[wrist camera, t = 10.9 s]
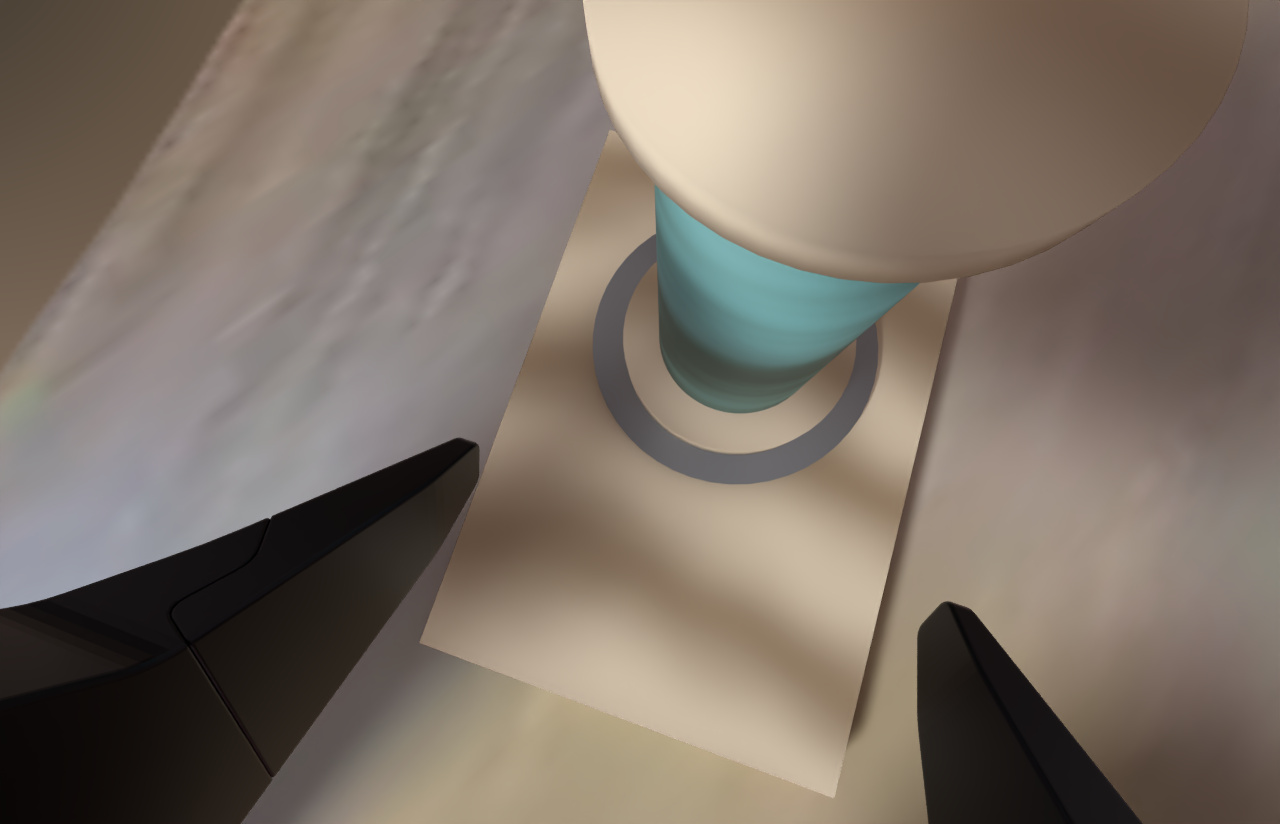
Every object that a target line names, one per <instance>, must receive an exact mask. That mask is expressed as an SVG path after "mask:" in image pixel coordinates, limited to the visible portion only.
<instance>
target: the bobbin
mask: <svg viewBox="0 0 1280 824" xmlns="http://www.w3.org/2000/svg"><path fill="white" fill-rule="evenodd" d="M583 4H584V12H585V19H586V26H587V32H588V39H589V45H590V51H591V57H592V63H593V69H594V74H595V77H596V81H597V84H598V87H599V91H600V94H601V98H602V101H603V104H604V106H605V108H606V110H607V113H608V115H609V117H610V119H611V121H612V123H613V125H614V128H615V130H616V132H617V134H618V136H619V137H620V139H621V140H622V142H623V143H624V145H625V146H626V148H627V149H628V151H629V152H630V154H631V155H632V157H633V158H634V160H635V161H636V163H637V164H638V165H639V166H640V168H641V169H642V170H643V171H644V172H645V173H646V174H647V176H648V177H649V178H650V179H651V180H652V181H653V182H654V184H655V217H656V249H657V262H656V263H654V264H653V265H652V266H651V267H650V269H649V270H648V271H647V272H646V274H645V275H644V276H643V277H642V279H641V281H640V282H639V284H638V286H637V287H636V289H635V291H634V293H633V295H632V298H631V300H630V302H629V305H628V309H627V312H626V316H625V322H624V329H623V347H624V355H625V361H626V364H627V368H628V372H629V375H630V379H631V383H632V385H633V387H634V390H635V392H636V394H637V396H638V398H639V399H640V401H641V403H642V405H643V406H644V408H645V409H646V410H647V411H648V413H649V414H650V415H651V416H652V418H653V419H654V420H655V421H656V422H657V423H658V424H659V425H660V426H661V427H662V428H664V429H665V430H666V431H668V432H669V433H670V434H672V435H673V436H674V437H676V438H678V439H680V440H682V441H683V442H685V443H687V444H689V445H692V446H694V447H697V448H699V449H702V450H706V451H710V452H714V453H720V454H728V455H745V454H753V453H760V452H763V451H767V450H771V449H774V448H776V447H779V446H781V445H784V444H786V443H788V442H790V441H792V440H794V439H796V438H797V437H799V436H801V435H802V434H804V433H806V432H808V431H809V430H811V429H812V428H813V427H814V426H816V425H817V424H818V423H819V422H821V421H822V420H823V419H824V418H825V417H826V416H827V414H828V413H829V412H830V411H831V410H832V409H833V408H834V406H835V405H836V403H837V402H838V401H839V399H840V398H841V396H842V394H843V392H844V390H845V388H846V387H847V385H848V382H849V379H850V376H851V373H852V371H853V366H854V361H855V356H856V339H857V338H858V337H859V336H860V335H862V334H863V333H864V332H865V331H866V330H867V329H868V328H869V327H871V326H872V325H873V324H874V323H875V322H876V321H877V320H879V319H880V318H881V317H882V316H883V315H884V314H885V313H887V312H888V311H889V310H890V309H891V308H892V307H893V306H895V305H896V304H897V303H898V302H899V301H900V300H901V299H903V298H904V297H905V296H906V295H907V294H908V293H909V292H911V291H912V290H913V289H914V288H915V287H916V286H917V285H919V284H920V283H927V282H934V281H941V280H948V279H956V278H963V277H970V276H973V275H977V274H981V273H984V272H988V271H992V270H995V269H999V268H1003V267H1006V266H1010V265H1013V264H1015V263H1017V262H1020V261H1022V260H1025V259H1027V258H1029V257H1032V256H1034V255H1037V254H1039V253H1041V252H1044V251H1046V250H1049V249H1050V248H1052V247H1054V246H1056V245H1057V244H1059V243H1061V242H1062V241H1064V240H1066V239H1067V238H1069V237H1071V236H1073V235H1074V234H1076V233H1078V232H1079V231H1081V230H1083V229H1084V228H1086V227H1087V226H1089V225H1090V224H1092V223H1093V222H1095V221H1096V220H1098V219H1100V218H1101V217H1103V216H1104V215H1106V214H1107V213H1109V212H1110V211H1112V210H1113V209H1115V208H1116V207H1118V206H1119V205H1121V204H1122V203H1124V202H1125V201H1127V200H1128V199H1130V198H1131V197H1133V196H1134V195H1136V194H1137V193H1138V192H1140V191H1141V190H1142V189H1143V188H1145V187H1146V186H1147V185H1148V184H1150V183H1151V182H1152V181H1153V180H1155V179H1156V178H1157V177H1158V176H1160V175H1161V174H1162V173H1163V172H1165V171H1166V170H1167V169H1168V168H1170V167H1171V166H1172V165H1173V164H1174V163H1175V162H1176V161H1177V159H1178V158H1179V157H1180V156H1181V155H1182V154H1183V153H1184V152H1185V151H1186V150H1187V149H1188V148H1189V146H1190V145H1191V144H1192V143H1193V142H1194V141H1195V140H1196V139H1197V138H1198V137H1199V136H1200V134H1201V133H1202V131H1203V130H1204V128H1205V127H1206V125H1207V124H1208V122H1209V120H1210V119H1211V117H1212V116H1213V114H1214V113H1215V111H1216V110H1217V108H1218V107H1219V105H1220V104H1221V102H1222V100H1223V98H1224V96H1225V93H1226V91H1227V89H1228V87H1229V84H1230V82H1231V80H1232V78H1233V76H1234V73H1235V71H1236V69H1237V66H1238V62H1239V58H1240V54H1241V50H1242V46H1243V43H1244V39H1245V35H1246V31H1247V18H1248V5H1249V0H583Z"/></svg>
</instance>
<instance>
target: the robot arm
mask: <svg viewBox="0 0 1280 824" xmlns="http://www.w3.org/2000/svg"><path fill="white" fill-rule="evenodd" d="M478 478H479V446H478V444H477V443H475V442H472V441H469V440H466V439H463V438H455V439H453V440H450V441H448V442H446V443H443V444H441V445H438V446H436V447H434V448H431V449H429V450H427V451H424V452H422V453H420V454H417V455H415V456H412V457H410V458H408V459H405V460H403V461H401V462H398V463H396V464H394V465H391V466H389V467H387V468H384V469H382V470H379V471H377V472H375V473H372V474H370V475H368V476H365V477H363V478H361V479H358V480H356V481H353V482H351V483H349V484H346V485H344V486H342V487H339V488H337V489H335V490H332V491H330V492H328V493H325V494H323V495H320V496H318V497H316V498H313V499H311V500H309V501H306V502H304V503H302V504H299V505H297V506H294V507H292V508H290V509H287V510H285V511H283V512H280V513H278V514H276V515H273V516H272V517H271V519H269V518H266V519H263V520H261V521H259V522H256V523H254V524H252V525H249V526H247V527H245V528H242V529H240V530H237V531H235V532H232V533H230V534H227V535H225V536H222V537H220V538H217V539H215V540H212V541H210V542H207V543H205V544H202V545H199V546H196V547H194V548H191V549H188V550H186V551H183V552H180V553H177V554H175V555H172V556H169V557H166V558H164V559H161V560H158V561H155V562H152V563H149V564H146V565H144V566H141V567H138V568H135V569H132V570H129V571H126V572H123V573H121V574H118V575H115V576H112V577H109V578H106V579H103V580H100V581H98V582H95V583H92V584H89V585H86V586H83V587H80V588H78V589H75V590H72V591H69V592H66V593H63V594H60V595H57V596H54V597H50V598H47V599H44V600H40V601H36V602H32V603H28V604H24V605H19V606H14V607H9V608H3V609H0V824H241V822H242V821H243V820H244V818H245V817H246V816H247V814H248V813H249V811H250V810H251V809H252V807H253V806H254V805H255V803H256V802H257V800H258V799H259V798H260V796H261V795H262V794H263V792H264V791H265V789H266V788H267V787H268V785H269V784H270V782H271V781H272V777H274V776H275V775H276V774H277V772H278V771H279V770H280V768H281V767H282V765H283V764H284V763H285V761H286V760H287V759H288V757H289V756H290V754H291V753H292V752H293V750H294V749H295V748H296V746H297V745H298V743H299V742H300V741H301V739H302V738H303V737H304V735H305V734H306V732H307V731H308V730H309V728H310V727H311V726H312V724H313V723H314V721H315V720H316V719H317V717H318V716H319V714H320V713H321V712H322V710H323V709H324V708H325V706H326V705H327V703H328V702H329V701H330V699H331V698H332V697H333V695H334V694H335V692H336V691H337V690H338V688H339V687H340V686H341V684H342V683H343V681H344V680H345V679H346V677H347V676H348V675H349V673H350V672H351V670H352V669H353V668H354V666H355V665H356V663H357V662H358V661H359V659H360V658H361V657H362V655H363V654H364V652H365V651H366V650H367V648H368V647H369V646H370V644H371V643H372V641H373V640H374V639H375V637H376V636H377V635H378V633H379V632H380V630H381V629H382V628H383V626H384V625H385V624H386V622H387V621H388V619H389V618H390V617H391V615H392V614H393V612H394V611H395V610H396V608H397V607H398V606H399V604H400V603H401V601H402V600H403V599H404V597H405V596H406V595H407V593H408V592H409V590H410V589H411V588H412V586H413V585H414V584H415V582H416V581H417V579H418V578H419V577H420V575H421V574H422V573H423V571H424V570H425V568H426V567H427V566H428V564H429V563H430V562H431V560H432V559H433V557H434V556H435V554H436V553H437V551H438V550H439V548H440V547H441V545H442V543H443V542H444V540H445V538H446V537H447V535H448V533H449V531H450V530H451V528H452V526H453V524H454V523H455V521H456V519H457V517H458V515H459V514H460V512H461V510H462V508H463V507H464V505H465V503H466V501H467V500H468V498H469V496H470V494H471V493H472V491H473V489H474V487H475V485H476V483H477V481H478ZM917 717H918V732H919V742H920V751H921V760H922V769H923V778H924V787H925V796H926V806H927V815H928V824H1142V822H1141V821H1140V820H1139V819H1138V817H1137V816H1136V815H1135V814H1134V812H1133V811H1132V810H1131V809H1130V807H1129V806H1128V805H1127V803H1126V802H1125V801H1124V800H1123V798H1122V797H1121V796H1120V795H1119V793H1118V792H1117V791H1116V790H1115V788H1114V787H1113V786H1112V785H1111V783H1110V782H1109V781H1108V780H1107V778H1106V777H1105V776H1104V775H1103V773H1102V772H1101V771H1100V770H1099V768H1098V767H1097V766H1096V765H1095V763H1094V762H1093V761H1092V760H1091V758H1090V757H1089V756H1088V755H1087V753H1086V752H1085V751H1084V750H1083V748H1082V747H1081V746H1080V745H1079V743H1078V742H1077V741H1076V740H1075V738H1074V737H1073V736H1072V735H1071V733H1070V732H1069V731H1068V730H1067V728H1066V727H1065V726H1064V725H1063V723H1062V722H1061V721H1060V719H1059V718H1058V717H1057V716H1056V714H1055V713H1054V712H1053V711H1052V709H1051V708H1050V707H1049V706H1048V704H1047V703H1046V702H1045V701H1044V699H1043V698H1042V697H1041V696H1040V694H1039V693H1038V692H1037V691H1036V689H1035V688H1034V687H1033V686H1032V684H1031V683H1030V682H1029V681H1028V679H1027V678H1026V677H1025V676H1024V674H1023V673H1022V672H1021V671H1020V669H1019V668H1018V667H1017V666H1016V664H1015V663H1014V662H1013V661H1012V659H1011V658H1010V657H1009V656H1008V654H1007V653H1006V652H1005V651H1004V649H1003V648H1002V647H1001V646H1000V644H999V643H998V642H997V640H996V639H995V638H994V637H993V635H992V634H991V633H990V632H989V630H988V629H987V628H986V627H985V625H984V624H983V623H982V622H981V620H980V619H979V618H978V617H977V615H976V614H975V613H974V612H973V611H972V610H971V609H969V608H967V607H965V606H962V605H959V604H956V603H953V602H949V601H946V602H943V603H941V604H940V605H939V606H938V607H937V608H936V609H935V610H934V612H933V613H932V614H931V615H930V616H929V617H928V618H927V619H926V620H925V621H924V622H923V623H922V625H921V626H920V628H919V631H918V636H917Z"/></svg>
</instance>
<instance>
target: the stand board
mask: <svg viewBox="0 0 1280 824" xmlns="http://www.w3.org/2000/svg"><path fill="white" fill-rule="evenodd" d="M656 262H657V249H656V217H655V184H654V182H653V181H652V180H651V179H650V178H649V177H648V176H647V174H646V173H645V172H644V171H643V170H642V169H641V168H640V166H639V165H638V164H637V163H636V161H635V160H634V158H633V157H632V155H631V154H630V152H629V151H628V149H627V148H626V146H625V145H624V143H623V142H622V140H621V139H620V137H619V136H618V134H617V132H616V131H612V130H610V131H609V134H608V137H607V139H606V142H605V145H604V147H603V150H602V153H601V156H600V158H599V161H598V164H597V166H596V169H595V172H594V174H593V177H592V180H591V182H590V185H589V188H588V190H587V193H586V196H585V199H584V201H583V204H582V207H581V209H580V212H579V215H578V217H577V220H576V223H575V225H574V228H573V231H572V233H571V236H570V239H569V242H568V244H567V247H566V250H565V252H564V255H563V258H562V260H561V263H560V266H559V268H558V271H557V274H556V276H555V279H554V282H553V285H552V287H551V290H550V293H549V295H548V298H547V301H546V303H545V306H544V309H543V311H542V314H541V317H540V319H539V322H538V325H537V328H536V330H535V333H534V336H533V338H532V341H531V344H530V346H529V349H528V352H527V354H526V357H525V360H524V362H523V365H522V368H521V371H520V373H519V376H518V379H517V381H516V384H515V387H514V389H513V392H512V395H511V397H510V400H509V403H508V405H507V408H506V411H505V414H504V416H503V419H502V422H501V424H500V427H499V430H498V432H497V435H496V438H495V440H494V443H493V446H492V448H491V451H490V454H489V457H488V459H487V462H486V465H485V467H484V470H483V473H482V475H481V478H480V481H479V483H478V486H477V489H476V491H475V494H474V497H473V500H472V502H471V505H470V508H469V510H468V513H467V516H466V518H465V521H464V524H463V526H462V529H461V532H460V534H459V537H458V540H457V543H456V545H455V548H454V551H453V553H452V556H451V559H450V561H449V564H448V567H447V569H446V572H445V575H444V577H443V580H442V583H441V586H440V588H439V591H438V594H437V596H436V599H435V602H434V604H433V607H432V610H431V612H430V615H429V618H428V620H427V623H426V626H425V629H424V631H423V634H422V637H421V639H420V642H419V643H421V644H423V645H426V646H429V647H431V648H434V649H437V650H439V651H442V652H445V653H447V654H450V655H453V656H455V657H458V658H461V659H463V660H466V661H469V662H471V663H474V664H477V665H479V666H482V667H485V668H487V669H490V670H493V671H495V672H498V673H501V674H503V675H506V676H509V677H511V678H514V679H517V680H519V681H522V682H525V683H527V684H530V685H533V686H535V687H538V688H541V689H543V690H546V691H549V692H551V693H554V694H557V695H559V696H562V697H565V698H567V699H570V700H573V701H575V702H578V703H581V704H583V705H586V706H589V707H591V708H594V709H597V710H599V711H602V712H605V713H607V714H610V715H613V716H615V717H618V718H621V719H623V720H626V721H629V722H631V723H634V724H637V725H639V726H642V727H645V728H647V729H650V730H653V731H655V732H658V733H661V734H663V735H666V736H669V737H671V738H674V739H677V740H679V741H682V742H685V743H687V744H690V745H693V746H695V747H698V748H701V749H703V750H706V751H709V752H711V753H714V754H717V755H719V756H722V757H725V758H728V759H730V760H733V761H736V762H738V763H741V764H744V765H746V766H749V767H752V768H754V769H757V770H760V771H762V772H765V773H768V774H770V775H773V776H776V777H778V778H781V779H784V780H786V781H789V782H792V783H794V784H797V785H800V786H802V787H805V788H808V789H810V790H813V791H816V792H818V793H821V794H824V795H826V796H829V797H832V798H834V797H835V793H836V789H837V785H838V780H839V776H840V772H841V768H842V764H843V759H844V755H845V751H846V747H847V743H848V738H849V734H850V730H851V726H852V721H853V717H854V713H855V709H856V705H857V700H858V696H859V692H860V688H861V684H862V679H863V675H864V671H865V667H866V662H867V658H868V654H869V650H870V646H871V641H872V637H873V633H874V629H875V625H876V620H877V616H878V612H879V608H880V603H881V599H882V595H883V591H884V587H885V582H886V578H887V574H888V570H889V566H890V561H891V557H892V553H893V549H894V544H895V540H896V536H897V532H898V528H899V523H900V519H901V515H902V511H903V507H904V502H905V498H906V494H907V490H908V485H909V481H910V477H911V473H912V469H913V464H914V460H915V456H916V452H917V448H918V443H919V439H920V435H921V431H922V426H923V422H924V418H925V414H926V410H927V405H928V401H929V397H930V393H931V388H932V384H933V380H934V376H935V372H936V367H937V363H938V359H939V355H940V351H941V346H942V342H943V338H944V334H945V329H946V325H947V321H948V317H949V313H950V308H951V304H952V300H953V296H954V292H955V287H956V283H957V279H958V278H956V279H948V280H941V281H934V282H927V283H920V284H919V285H917V286H916V287H915V288H914V289H913V290H912V291H911V292H909V293H908V294H907V295H906V296H905V297H904V298H903V299H901V300H900V301H899V302H898V303H897V304H896V305H895V306H893V307H892V308H891V309H890V310H889V311H888V312H887V313H885V314H884V315H883V316H882V317H881V318H880V319H879V320H877V321H876V322H875V323H874V324H873V325H872V326H871V327H869V328H868V329H867V330H866V331H865V332H864V333H863V334H862V335H860V336H859V337H858V338H857V339H856V356H855V361H854V366H853V371H852V373H851V376H850V379H849V382H848V385H847V387H846V388H845V390H844V392H843V394H842V396H841V398H840V399H839V401H838V402H837V403H836V405H835V406H834V408H833V409H832V410H831V411H830V412H829V413H828V414H827V416H826V417H825V418H824V419H823V420H822V421H821V422H819V423H818V424H817V425H816V426H814V427H813V428H812V429H811V430H809V431H808V432H806V433H804V434H802V435H801V436H799V437H797V438H796V439H794V440H792V441H790V442H788V443H786V444H784V445H781V446H779V447H776V448H774V449H771V450H767V451H763V452H760V453H753V454H745V455H728V454H720V453H714V452H710V451H706V450H702V449H699V448H697V447H694V446H692V445H689V444H687V443H685V442H683V441H682V440H680V439H678V438H676V437H674V436H673V435H672V434H670V433H669V432H668V431H666V430H665V429H664V428H662V427H661V426H660V425H659V424H658V423H657V422H656V421H655V420H654V419H653V418H652V416H651V415H650V414H649V413H648V411H647V410H646V409H645V408H644V406H643V405H642V403H641V401H640V399H639V398H638V396H637V394H636V392H635V390H634V387H633V385H632V383H631V379H630V375H629V372H628V368H627V364H626V361H625V355H624V347H623V329H624V322H625V316H626V312H627V309H628V305H629V302H630V300H631V298H632V295H633V293H634V291H635V289H636V287H637V286H638V284H639V282H640V281H641V279H642V277H643V276H644V275H645V274H646V272H647V271H648V270H649V269H650V267H651V266H652V265H653V264H654V263H656Z"/></svg>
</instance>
